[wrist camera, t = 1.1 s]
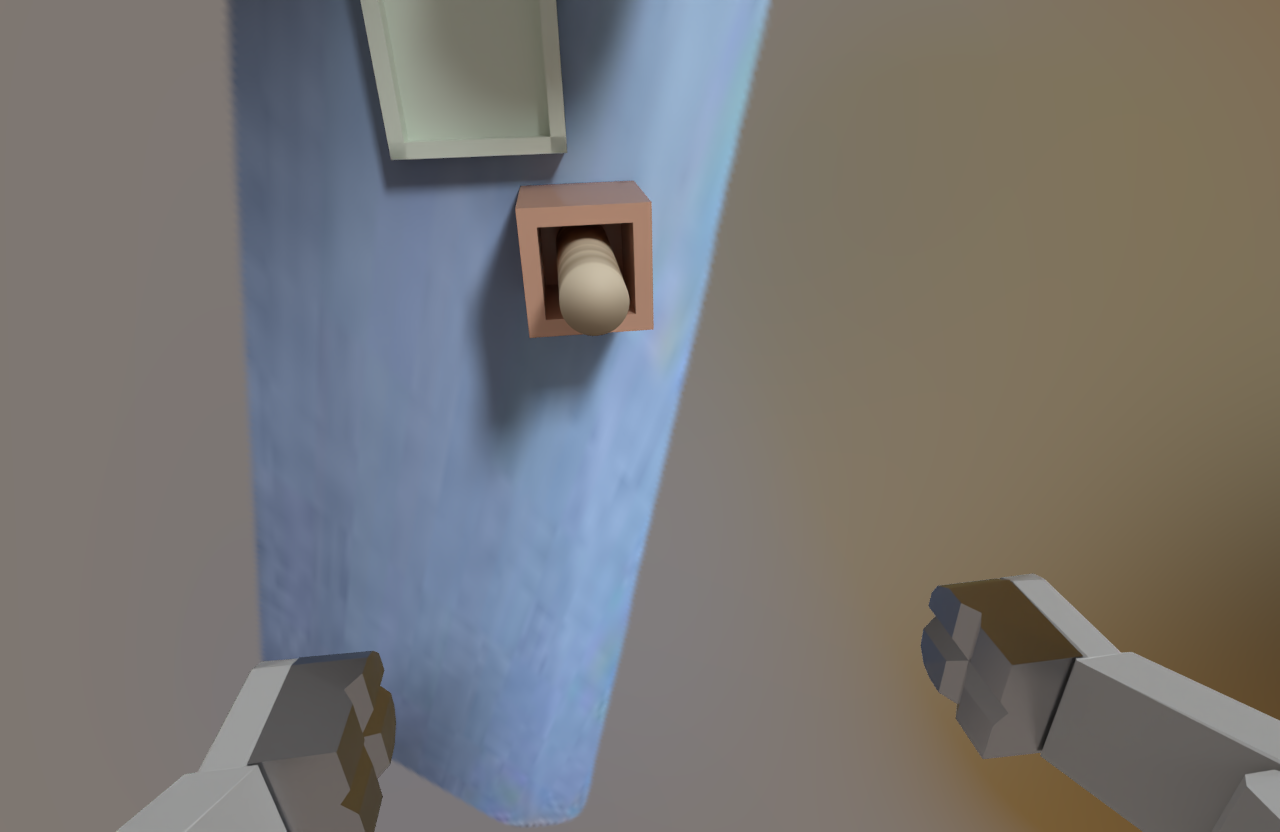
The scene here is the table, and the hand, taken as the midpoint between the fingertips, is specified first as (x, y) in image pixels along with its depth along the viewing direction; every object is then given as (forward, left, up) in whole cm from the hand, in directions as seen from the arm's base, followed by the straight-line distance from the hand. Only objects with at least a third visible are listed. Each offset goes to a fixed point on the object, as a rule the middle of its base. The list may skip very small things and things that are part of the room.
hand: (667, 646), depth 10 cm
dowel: (+1, 0, -31) cm, 31 cm away
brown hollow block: (+1, 0, -32) cm, 32 cm away
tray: (-10, -5, -32) cm, 34 cm away
